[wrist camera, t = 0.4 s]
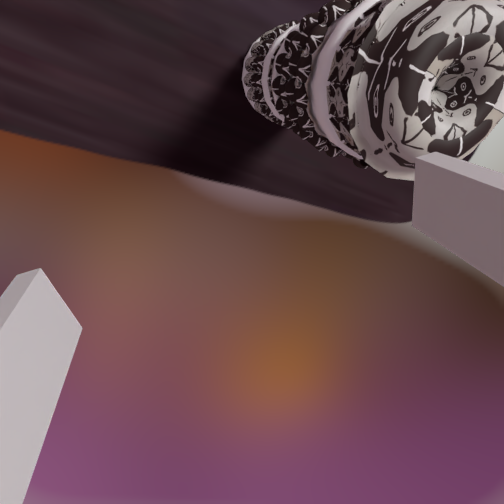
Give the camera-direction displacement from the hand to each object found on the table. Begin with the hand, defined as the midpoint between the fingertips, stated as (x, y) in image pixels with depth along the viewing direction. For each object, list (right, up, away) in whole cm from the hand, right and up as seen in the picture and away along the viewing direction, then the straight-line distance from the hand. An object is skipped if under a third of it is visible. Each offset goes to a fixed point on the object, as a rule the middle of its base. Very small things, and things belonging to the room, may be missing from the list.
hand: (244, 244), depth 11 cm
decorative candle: (+3, +18, +23) cm, 29 cm away
